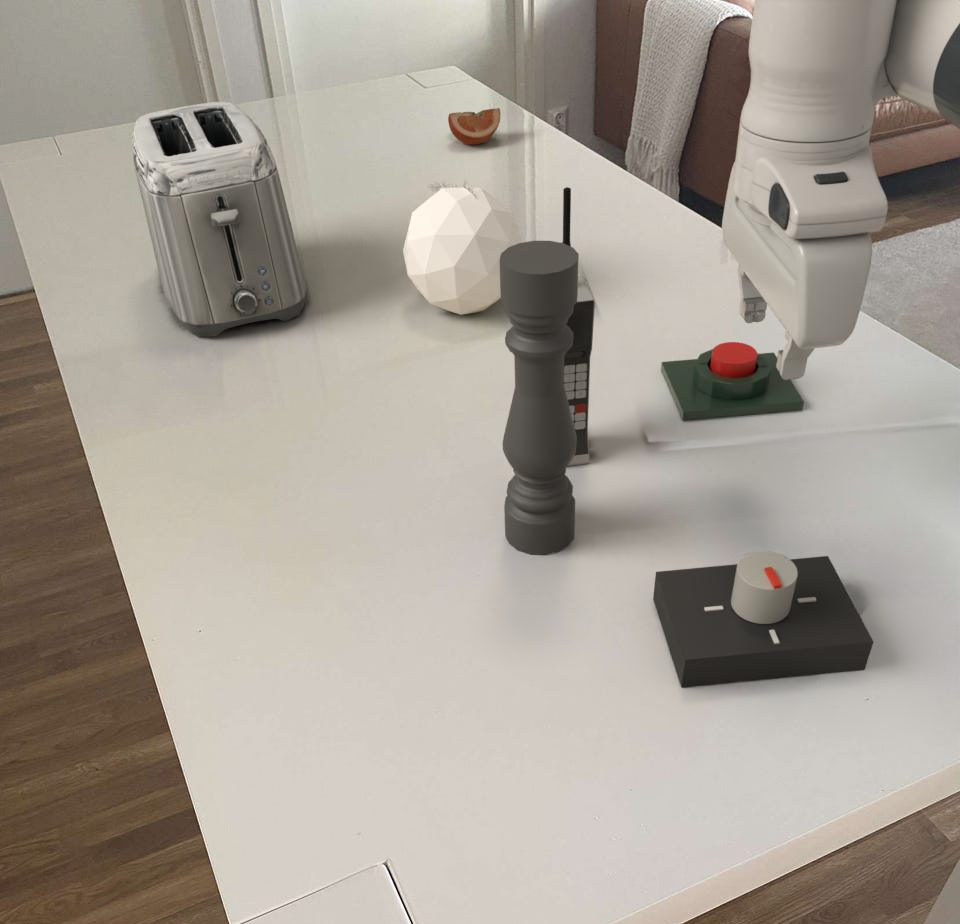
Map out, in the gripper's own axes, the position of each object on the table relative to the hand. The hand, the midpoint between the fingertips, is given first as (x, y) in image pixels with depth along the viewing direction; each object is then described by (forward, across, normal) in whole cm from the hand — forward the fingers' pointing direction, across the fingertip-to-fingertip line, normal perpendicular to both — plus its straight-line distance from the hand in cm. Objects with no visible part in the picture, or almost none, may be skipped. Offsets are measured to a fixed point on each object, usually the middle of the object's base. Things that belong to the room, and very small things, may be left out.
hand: (769, 345), depth 81 cm
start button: (+12, -17, +3) cm, 21 cm away
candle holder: (+15, +2, -19) cm, 24 cm away
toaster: (+15, -54, -50) cm, 75 cm away
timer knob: (+12, +17, -4) cm, 21 cm away
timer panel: (+15, +17, -4) cm, 23 cm away
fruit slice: (+15, -99, -14) cm, 101 cm away
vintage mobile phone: (+15, -10, -15) cm, 24 cm away
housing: (+15, -17, +3) cm, 23 cm away
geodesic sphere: (+15, -44, -21) cm, 51 cm away
